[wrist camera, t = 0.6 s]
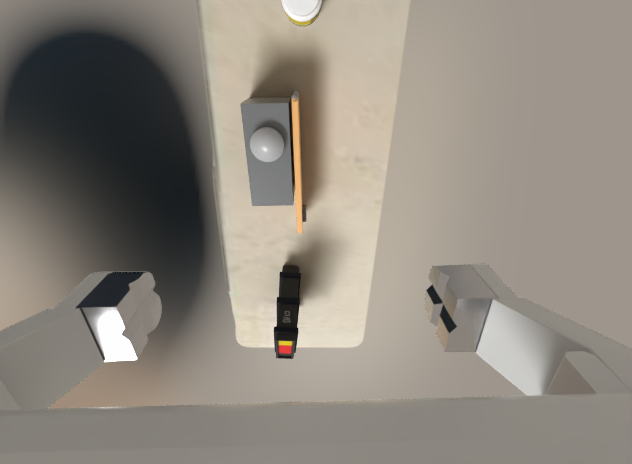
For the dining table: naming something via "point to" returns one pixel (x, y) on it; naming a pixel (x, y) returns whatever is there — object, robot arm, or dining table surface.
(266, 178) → the block
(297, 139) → the side door
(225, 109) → the dining table surface
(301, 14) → the supplement bottle
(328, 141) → the dining table surface
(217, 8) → the dining table surface
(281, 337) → the magazine
